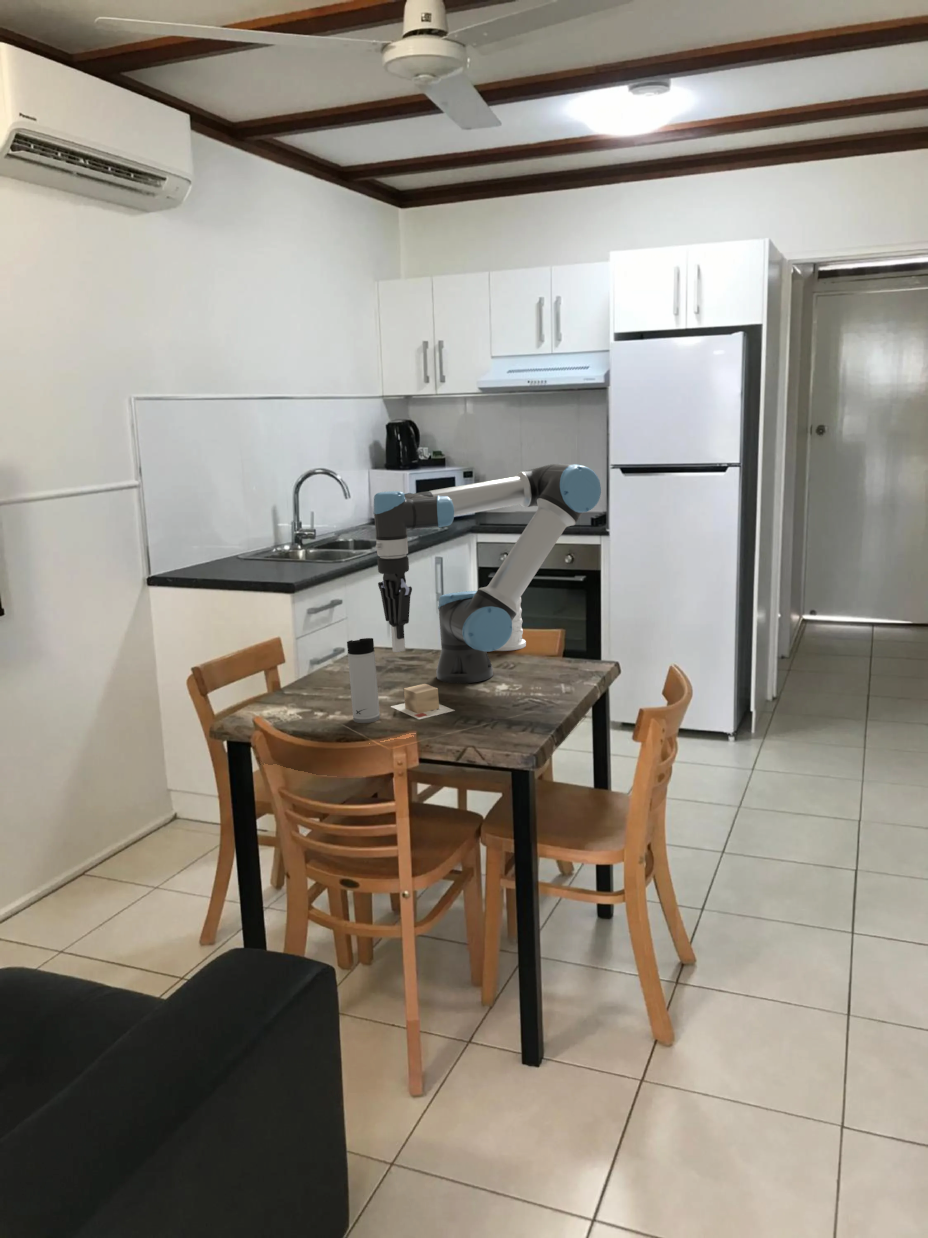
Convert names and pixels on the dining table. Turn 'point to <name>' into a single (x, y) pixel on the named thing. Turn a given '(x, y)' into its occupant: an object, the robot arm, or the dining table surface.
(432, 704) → the oak block
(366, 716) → the travel mug
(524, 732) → the dining table surface
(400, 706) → the letter
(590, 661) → the dining table surface
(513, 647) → the decorative container
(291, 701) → the dining table surface
